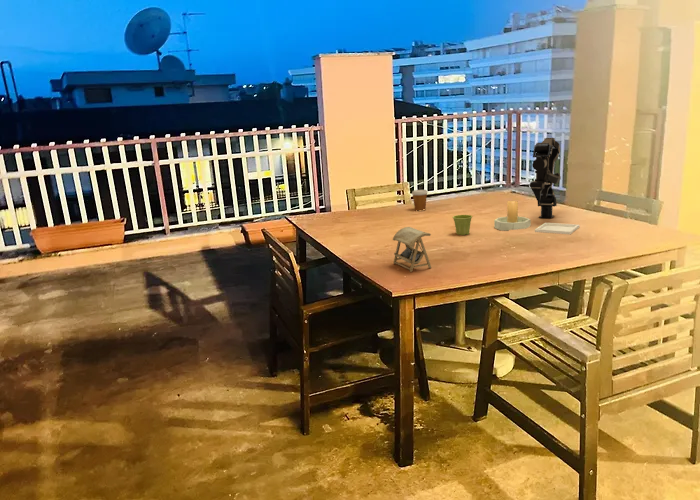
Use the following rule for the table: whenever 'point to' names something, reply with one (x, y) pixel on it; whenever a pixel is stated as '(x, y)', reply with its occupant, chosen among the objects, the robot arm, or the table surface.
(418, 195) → the disposable coffee cup
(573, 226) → the parts tray
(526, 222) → the sage bowl
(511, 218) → the orange tapered cylinder
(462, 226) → the plant pot
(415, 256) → the swing bench
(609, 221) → the table surface
